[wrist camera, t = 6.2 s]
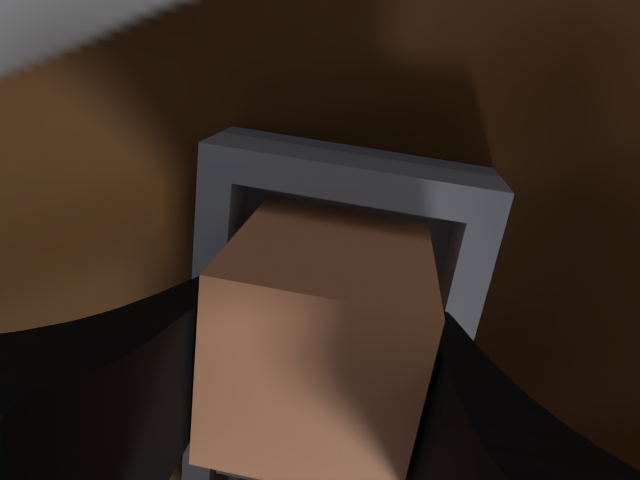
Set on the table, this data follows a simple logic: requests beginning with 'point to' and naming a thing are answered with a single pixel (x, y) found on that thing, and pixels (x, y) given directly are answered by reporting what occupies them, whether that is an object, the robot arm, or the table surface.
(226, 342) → the tan matte cube
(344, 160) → the grey rimmed tray
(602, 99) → the table surface
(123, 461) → the robot arm
